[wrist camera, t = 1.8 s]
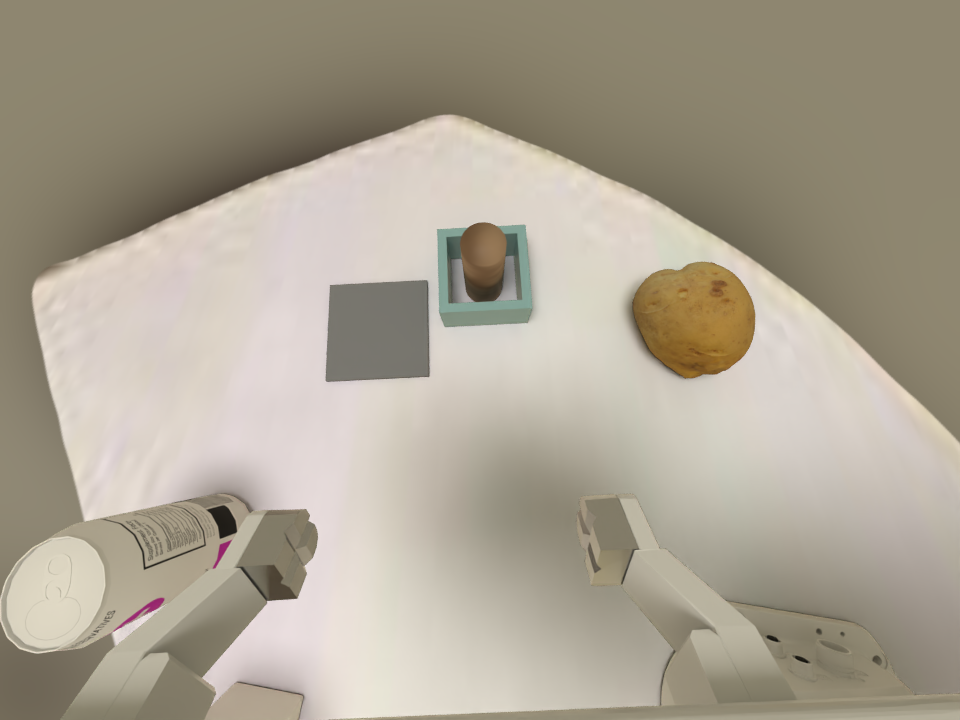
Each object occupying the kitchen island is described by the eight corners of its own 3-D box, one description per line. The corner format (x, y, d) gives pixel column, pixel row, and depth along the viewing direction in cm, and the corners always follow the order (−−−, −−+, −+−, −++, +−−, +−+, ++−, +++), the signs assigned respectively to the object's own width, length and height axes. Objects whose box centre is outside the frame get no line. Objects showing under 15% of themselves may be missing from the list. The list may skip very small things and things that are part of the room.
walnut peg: (500, 269, 44) (505, 221, 34) (503, 302, 43) (508, 263, 33) (465, 270, 44) (459, 223, 34) (466, 304, 43) (460, 265, 33)
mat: (427, 282, 44) (426, 280, 43) (429, 376, 41) (428, 375, 41) (331, 286, 44) (330, 285, 43) (327, 381, 41) (325, 380, 41)
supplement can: (257, 568, 37) (109, 653, 23) (179, 579, 37) (-21, 672, 22) (257, 488, 39) (120, 519, 24) (183, 498, 39) (0, 536, 24)
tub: (521, 248, 45) (525, 224, 40) (527, 322, 42) (532, 308, 38) (442, 252, 45) (437, 229, 40) (444, 327, 43) (439, 312, 38)
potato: (664, 397, 40) (721, 385, 31) (605, 307, 43) (640, 269, 33) (737, 356, 41) (815, 331, 31) (674, 270, 44) (729, 222, 34)
